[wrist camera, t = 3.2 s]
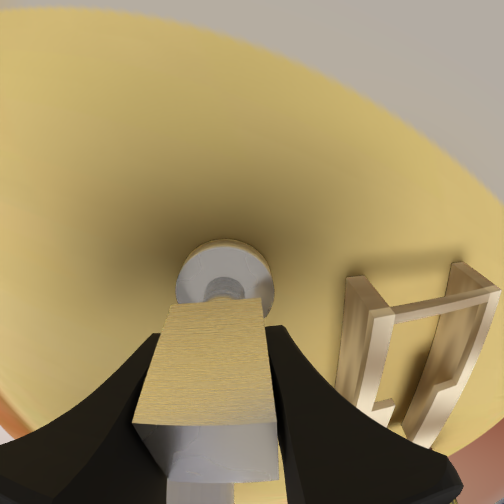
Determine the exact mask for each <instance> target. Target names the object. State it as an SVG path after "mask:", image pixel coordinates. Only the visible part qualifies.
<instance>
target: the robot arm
mask: <svg viewBox="0 0 504 504" xmlns="http://www.w3.org/2000/svg"><path fill="white" fill-rule="evenodd" d="M265 334H266V341H267V349H268V357H269V365H270V373H271V380H272V388H273V396H274V404H275V412H276V420H277V437H278V441H279V445H280V450H281V455H282V460H283V467H284V475H285V484H286V493H287V502H288V504H449V503H451V502H452V501H453V500H454V499H455V498H456V497H457V496H458V495H459V494H460V493H461V491H462V489H463V483H462V482H461V479H460V477H459V475H458V473H457V471H456V469H455V468H454V466H453V465H452V463H451V462H450V461H449V459H448V457H447V456H446V455H443V454H440V453H438V452H435V451H433V450H430V449H428V448H425V447H423V446H420V445H418V444H415V443H413V442H411V441H409V440H407V439H405V438H403V437H402V436H400V435H398V434H396V433H394V432H392V431H391V430H389V429H388V428H386V427H384V426H383V425H381V424H380V423H378V422H376V421H375V420H373V419H372V418H370V417H369V416H367V415H366V414H364V413H363V412H362V411H360V410H359V409H358V408H357V407H355V406H354V405H353V404H351V403H350V402H349V401H348V400H347V399H345V398H344V397H343V396H342V395H341V394H340V393H339V392H337V391H336V390H335V389H334V388H333V387H332V386H331V385H330V384H329V383H328V382H327V381H326V380H325V379H324V378H323V377H322V376H321V375H320V374H319V372H318V371H317V370H316V369H315V368H314V367H313V366H312V364H311V363H310V362H309V361H308V360H307V358H306V357H305V356H304V355H303V353H302V352H301V351H300V349H299V348H298V347H297V345H296V344H295V342H294V341H293V339H292V338H291V336H290V335H289V333H288V331H287V329H286V328H285V327H284V326H283V325H278V326H268V327H265ZM160 335H161V333H153V334H152V335H151V336H150V337H149V338H148V339H147V340H146V341H145V342H144V343H143V344H142V345H141V346H140V347H139V348H138V349H137V350H136V351H135V352H134V353H133V354H132V355H131V356H130V357H129V358H128V359H127V361H126V362H125V363H124V364H123V365H122V366H121V367H120V368H119V369H118V370H117V371H116V372H115V373H114V374H112V375H111V376H110V377H109V378H108V379H107V380H106V381H105V382H104V383H103V384H102V385H101V386H100V387H99V388H97V389H96V390H95V391H94V392H93V393H92V394H90V395H89V396H88V397H87V398H85V399H84V400H83V401H82V402H80V403H79V404H78V405H76V406H75V407H74V408H72V409H71V410H69V411H68V412H66V413H65V414H63V415H61V416H60V417H58V418H57V419H55V420H53V421H52V422H50V423H49V424H47V425H45V426H43V427H41V428H39V429H38V430H36V431H34V432H32V433H29V434H27V435H25V436H23V437H21V438H18V439H16V440H13V441H10V442H8V443H5V444H2V445H0V504H234V483H191V482H174V481H170V480H169V479H168V478H167V476H166V475H165V474H164V472H163V471H162V469H161V468H160V466H159V465H158V464H157V462H156V461H155V459H154V458H153V456H152V455H151V453H150V452H149V450H148V449H147V447H146V445H145V444H144V442H143V441H142V439H141V437H140V436H139V434H138V433H137V431H136V429H135V428H134V426H133V424H132V420H133V417H134V413H135V410H136V407H137V404H138V400H139V397H140V394H141V391H142V388H143V385H144V382H145V379H146V376H147V373H148V370H149V367H150V364H151V361H152V358H153V355H154V352H155V349H156V346H157V343H158V340H159V337H160ZM495 504H504V498H502V499H501V500H499V501H498V502H496V503H495Z"/></svg>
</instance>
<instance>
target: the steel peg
mask: <svg viewBox="0 0 504 504" xmlns="http://www.w3.org/2000/svg"><path fill="white" fill-rule="evenodd" d="M176 299H177V302H178V304H171V307H170V310H169V312H168V315H167V318H166V321H165V323H164V326H163V329H162V332H161V335H160V337H159V340H158V343H157V346H156V349H155V352H154V355H153V358H152V361H151V364H150V367H149V370H148V373H147V376H146V379H145V382H144V385H143V388H142V391H141V394H140V397H139V400H138V404H137V407H136V410H135V413H134V417H133V420H132V424H133V426H134V428H135V429H136V431H137V433H138V434H139V436H140V437H141V439H142V441H143V442H144V444H145V445H146V447H147V449H148V450H149V452H150V453H151V455H152V456H153V458H154V459H155V461H156V462H157V464H158V465H159V466H160V468H161V469H162V471H163V472H164V474H165V475H166V476H167V478H168V479H169V480H170V481H174V482H191V483H245V482H261V481H273V480H279V466H278V439H277V420H276V412H275V404H274V396H273V388H272V380H271V373H270V365H269V357H268V349H267V341H266V334H265V326H264V318H265V317H266V316H267V314H268V313H269V311H270V309H271V307H272V304H273V301H274V284H273V280H272V275H271V271H270V268H269V266H268V263H267V262H266V260H265V259H264V257H263V256H262V255H261V254H260V253H259V252H258V251H257V250H256V249H255V248H253V247H252V246H250V245H248V244H246V243H244V242H241V241H237V240H233V239H217V240H212V241H209V242H206V243H204V244H202V245H200V246H199V247H197V248H196V249H195V250H193V251H192V252H191V253H190V254H189V255H188V257H187V258H186V260H185V262H184V264H183V266H182V268H181V271H180V273H179V276H178V279H177V282H176Z"/></svg>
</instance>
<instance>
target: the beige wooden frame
mask: <svg viewBox="0 0 504 504" xmlns="http://www.w3.org/2000/svg"><path fill="white" fill-rule="evenodd" d="M501 291H502V290H501V289H500V288H498V287H497V286H496V285H495V284H493V283H492V282H491V281H489V280H488V279H487V278H485V277H484V276H483V275H481V274H480V273H478V272H477V271H476V270H474V269H473V268H471V267H470V266H469V265H467V264H466V263H464V262H458V263H452V265H451V270H450V275H449V280H448V285H447V290H446V294H445V297H440V298H436V299H431V300H426V301H420V302H415V303H410V304H404V305H399V306H393V307H389V305H388V304H387V303H386V302H385V300H384V299H383V298H382V297H381V295H380V294H379V293H378V292H377V290H376V289H375V288H374V287H373V285H372V284H371V283H370V282H369V281H368V279H367V278H366V277H365V276H364V275H362V276H354V277H346V289H345V303H344V315H343V326H342V336H341V345H340V353H339V362H338V369H337V377H336V384H335V390H336V391H337V392H339V393H340V394H341V395H342V396H343V397H344V398H345V399H347V400H348V401H349V402H350V403H351V404H353V405H354V406H355V407H357V408H358V409H359V410H360V411H362V412H363V413H364V414H366V415H367V416H369V417H370V418H372V419H373V420H375V421H376V422H378V423H380V424H381V425H383V426H384V427H386V428H387V425H388V423H389V420H390V418H391V415H392V413H393V410H394V408H395V404H394V402H393V400H392V398H390V399H387V400H383V401H379V402H375V403H374V401H375V398H376V394H377V391H378V387H379V384H380V380H381V376H382V373H383V369H384V365H385V361H386V357H387V352H388V348H389V344H390V339H391V334H392V330H393V325H394V324H397V323H402V322H407V321H412V320H417V319H421V318H426V317H430V316H435V315H439V314H441V315H440V319H439V322H438V326H437V330H436V333H435V337H434V340H433V343H432V346H431V350H430V353H429V356H428V359H427V362H426V365H425V367H424V370H423V373H422V376H421V379H420V381H419V384H418V387H417V389H416V392H415V394H414V397H413V399H412V402H411V404H410V406H409V409H408V411H407V413H406V415H405V418H404V420H403V422H402V424H401V426H402V428H403V430H404V432H405V435H406V437H407V439H408V440H409V441H411V442H413V443H415V444H418V445H420V446H423V447H425V448H428V449H429V448H430V446H431V445H432V443H433V442H434V440H435V439H436V437H437V436H438V434H439V432H440V431H441V429H442V427H443V426H444V424H445V422H446V421H447V419H448V417H449V415H450V414H451V412H452V410H453V408H454V406H455V405H456V403H457V401H458V399H459V397H460V395H461V393H462V391H463V389H464V387H465V385H466V383H467V381H468V379H469V377H470V375H471V373H472V370H473V368H474V366H475V364H476V361H477V359H478V357H479V354H480V352H481V349H482V347H483V344H484V342H485V339H486V336H487V334H488V331H489V328H490V326H491V323H492V320H493V317H494V314H495V311H496V307H497V304H498V301H499V298H500V294H501Z"/></svg>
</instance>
